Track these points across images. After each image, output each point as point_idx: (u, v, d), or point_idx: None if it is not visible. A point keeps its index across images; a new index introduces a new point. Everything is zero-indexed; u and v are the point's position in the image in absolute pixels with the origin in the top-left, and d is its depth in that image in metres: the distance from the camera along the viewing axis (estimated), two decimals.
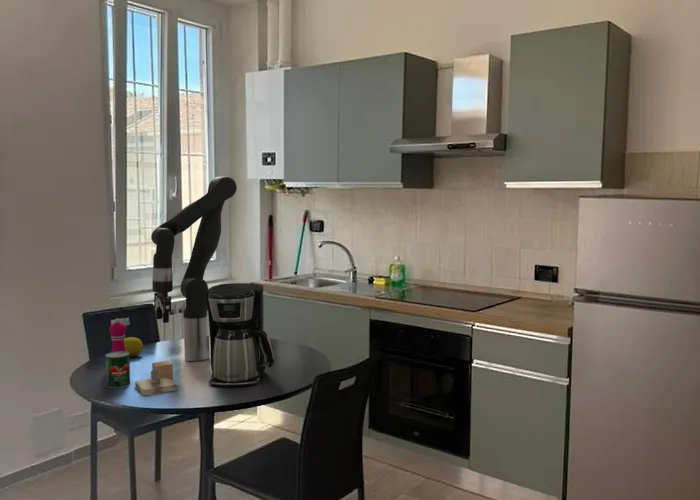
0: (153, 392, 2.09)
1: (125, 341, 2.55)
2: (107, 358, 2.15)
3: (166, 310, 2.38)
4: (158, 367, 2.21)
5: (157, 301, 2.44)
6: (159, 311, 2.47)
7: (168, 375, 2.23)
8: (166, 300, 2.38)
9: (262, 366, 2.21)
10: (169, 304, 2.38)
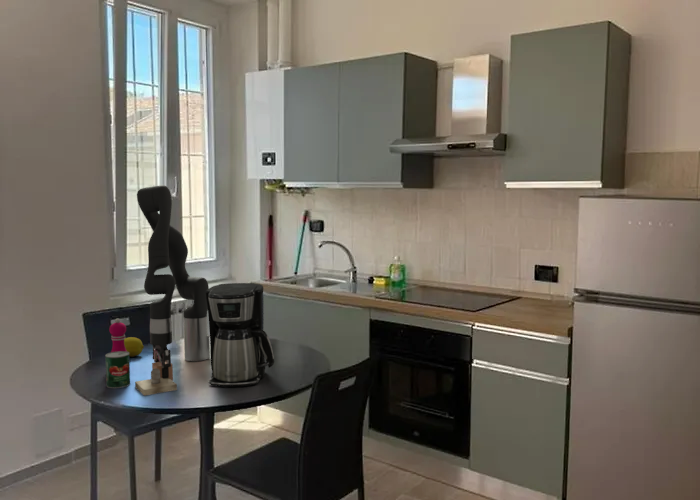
0: (153, 392, 2.09)
1: (125, 341, 2.55)
2: (107, 358, 2.15)
3: (165, 365, 2.17)
4: (158, 367, 2.21)
5: (156, 354, 2.24)
6: None
7: None
8: (165, 354, 2.17)
9: (262, 366, 2.21)
10: (168, 358, 2.18)
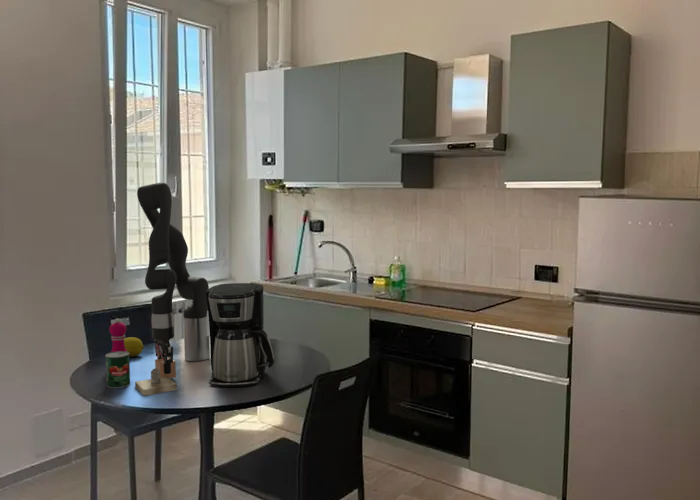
0: (153, 392, 2.09)
1: (125, 341, 2.55)
2: (107, 358, 2.15)
3: (167, 361, 2.19)
4: (161, 364, 2.21)
5: (158, 349, 2.24)
6: None
7: (171, 372, 2.23)
8: (168, 351, 2.18)
9: (262, 366, 2.21)
10: (171, 355, 2.19)
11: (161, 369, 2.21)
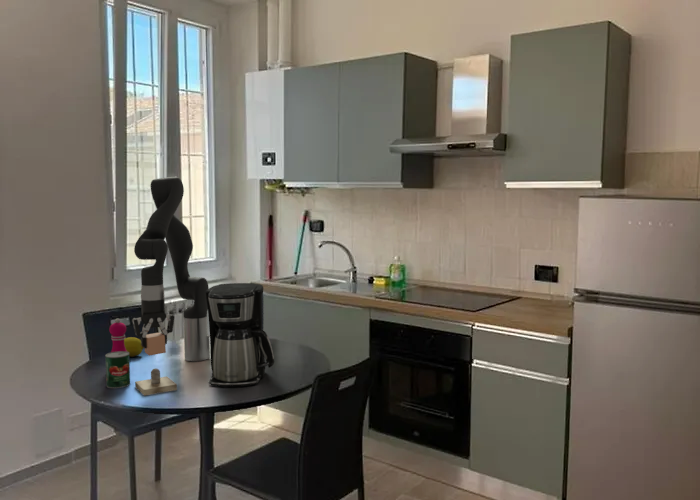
0: (153, 392, 2.09)
1: (125, 341, 2.55)
2: (107, 358, 2.15)
3: (135, 333, 2.10)
4: None
5: None
6: None
7: (147, 348, 2.11)
8: (133, 323, 2.10)
9: (262, 366, 2.21)
10: (134, 328, 2.09)
11: None
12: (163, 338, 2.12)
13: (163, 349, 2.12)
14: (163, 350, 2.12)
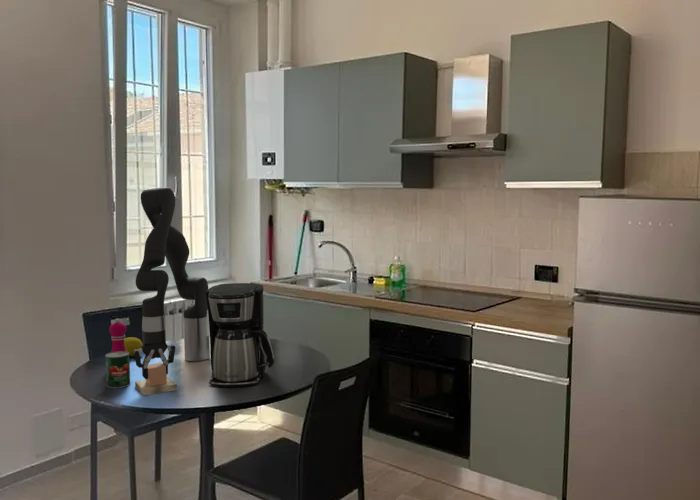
0: (153, 392, 2.09)
1: (125, 341, 2.55)
2: (107, 358, 2.15)
3: (136, 364, 2.11)
4: None
5: None
6: None
7: (148, 379, 2.12)
8: (134, 354, 2.11)
9: (262, 366, 2.21)
10: (136, 359, 2.10)
11: None
12: (164, 369, 2.13)
13: (164, 380, 2.13)
14: (164, 381, 2.13)
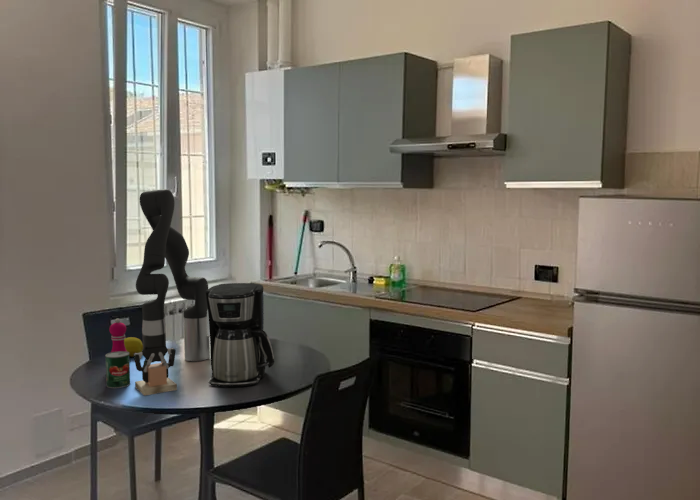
0: (153, 392, 2.09)
1: (125, 341, 2.55)
2: (107, 358, 2.15)
3: (136, 368, 2.11)
4: None
5: None
6: None
7: (148, 379, 2.12)
8: (134, 357, 2.11)
9: (262, 366, 2.21)
10: (136, 363, 2.10)
11: None
12: (165, 369, 2.13)
13: (164, 380, 2.13)
14: (164, 381, 2.13)
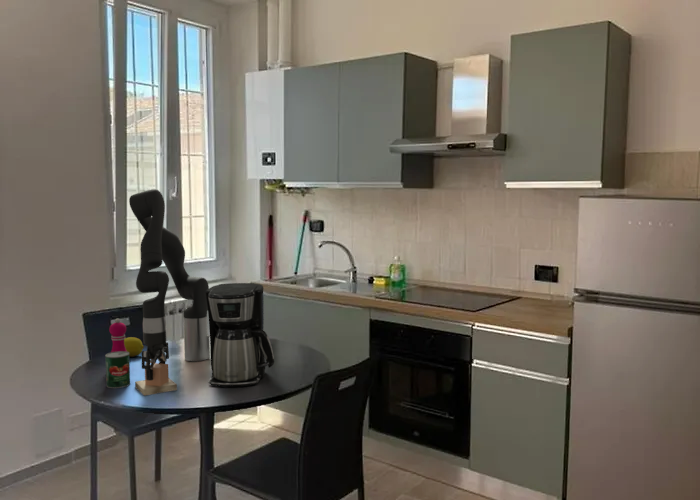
0: (153, 392, 2.09)
1: (125, 341, 2.55)
2: (107, 358, 2.15)
3: (143, 367, 2.07)
4: None
5: None
6: None
7: (156, 379, 2.11)
8: (143, 355, 2.07)
9: (262, 366, 2.21)
10: (146, 360, 2.07)
11: None
12: (167, 367, 2.16)
13: (167, 378, 2.16)
14: (167, 379, 2.16)
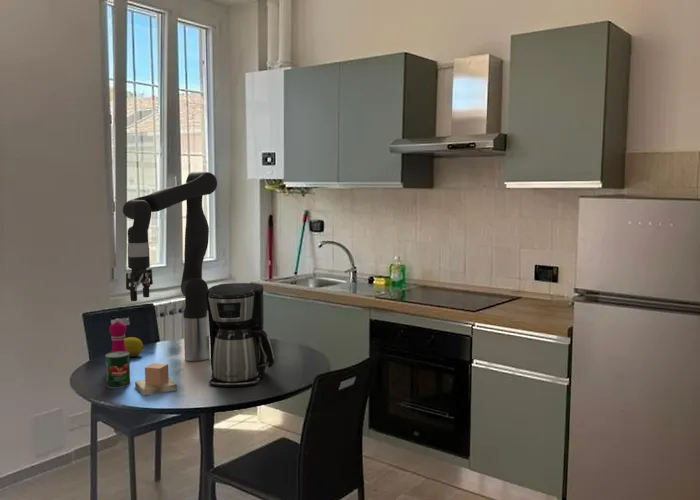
0: (153, 392, 2.09)
1: (125, 341, 2.55)
2: (107, 358, 2.15)
3: (127, 287, 2.22)
4: (146, 369, 2.12)
5: None
6: (145, 289, 2.33)
7: (156, 379, 2.11)
8: (127, 277, 2.22)
9: (262, 366, 2.21)
10: (130, 281, 2.22)
11: (146, 374, 2.12)
12: (167, 367, 2.16)
13: (167, 378, 2.16)
14: (167, 379, 2.16)
